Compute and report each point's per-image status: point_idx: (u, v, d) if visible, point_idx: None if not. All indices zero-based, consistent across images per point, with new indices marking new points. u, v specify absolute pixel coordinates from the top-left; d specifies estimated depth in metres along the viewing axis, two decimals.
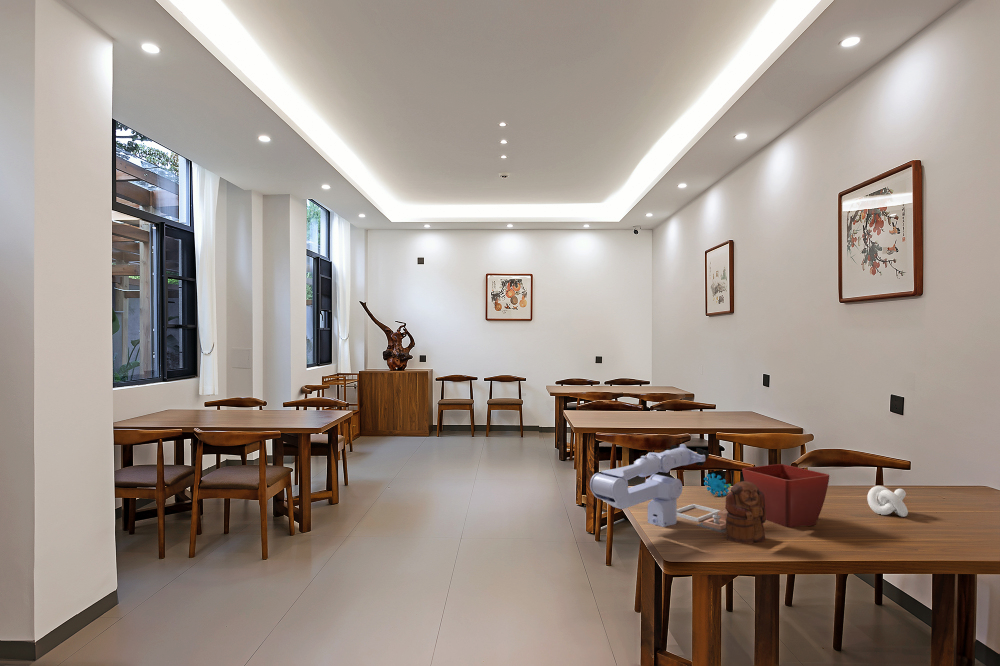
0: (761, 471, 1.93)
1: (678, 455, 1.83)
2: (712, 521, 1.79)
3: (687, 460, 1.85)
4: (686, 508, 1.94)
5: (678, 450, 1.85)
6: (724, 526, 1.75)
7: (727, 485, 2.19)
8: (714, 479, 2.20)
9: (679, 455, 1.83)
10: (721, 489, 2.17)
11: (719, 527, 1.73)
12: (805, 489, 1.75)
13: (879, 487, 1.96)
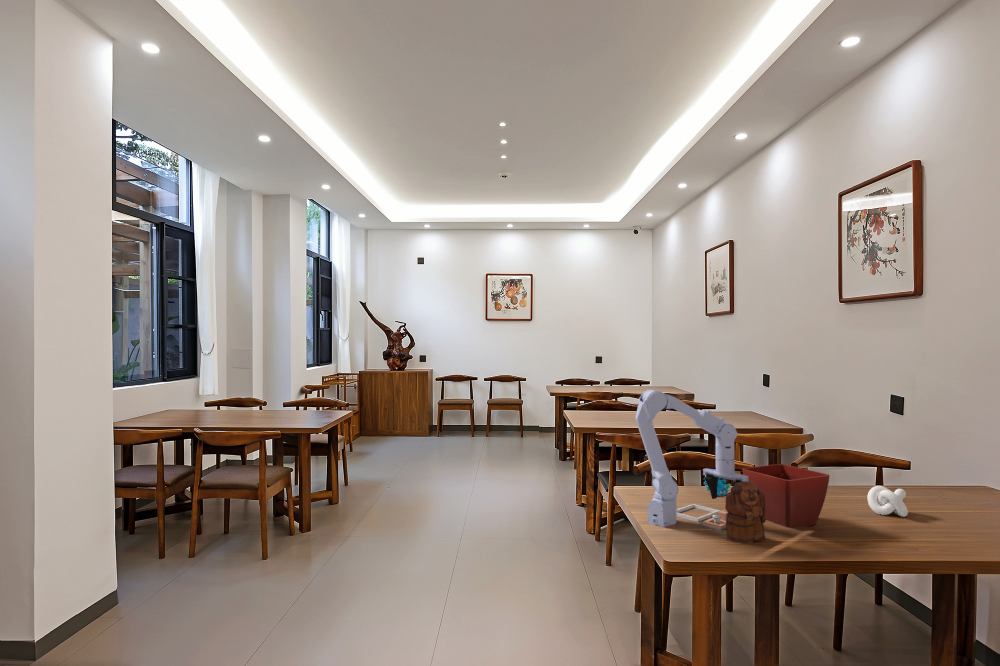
0: (761, 471, 1.93)
1: (732, 455, 1.79)
2: (712, 521, 1.79)
3: (731, 469, 1.79)
4: (686, 508, 1.94)
5: None
6: (724, 526, 1.75)
7: (727, 485, 2.19)
8: None
9: (732, 456, 1.79)
10: (721, 489, 2.17)
11: (719, 527, 1.73)
12: (805, 489, 1.75)
13: (879, 487, 1.96)
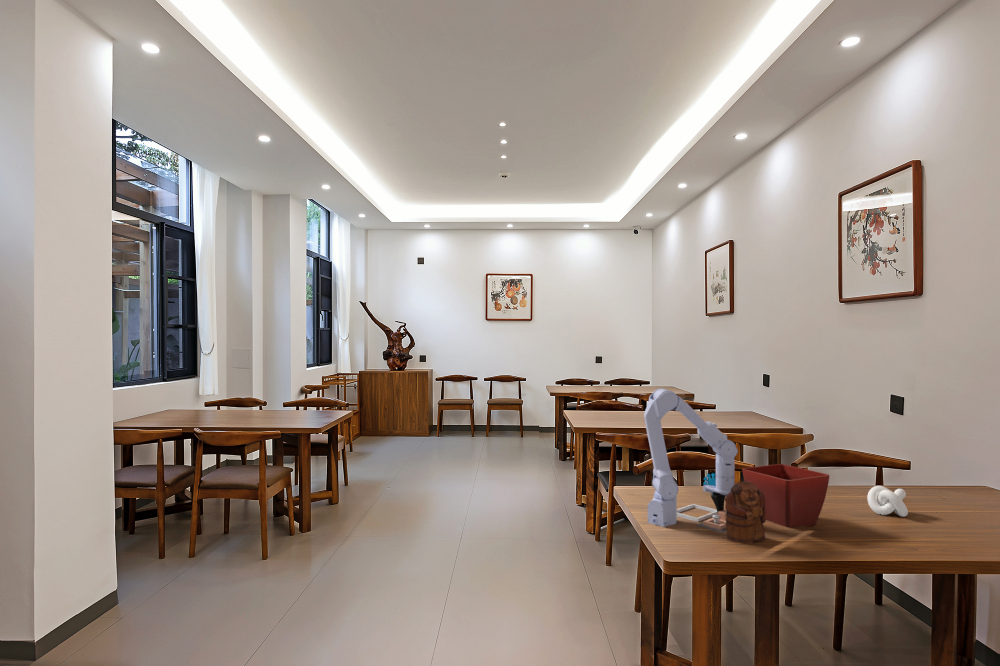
0: (761, 471, 1.93)
1: (732, 472, 1.79)
2: (712, 521, 1.79)
3: (731, 486, 1.78)
4: (686, 508, 1.94)
5: None
6: (724, 526, 1.75)
7: None
8: (714, 479, 2.20)
9: (732, 474, 1.79)
10: None
11: (719, 527, 1.73)
12: (805, 489, 1.75)
13: (879, 487, 1.96)
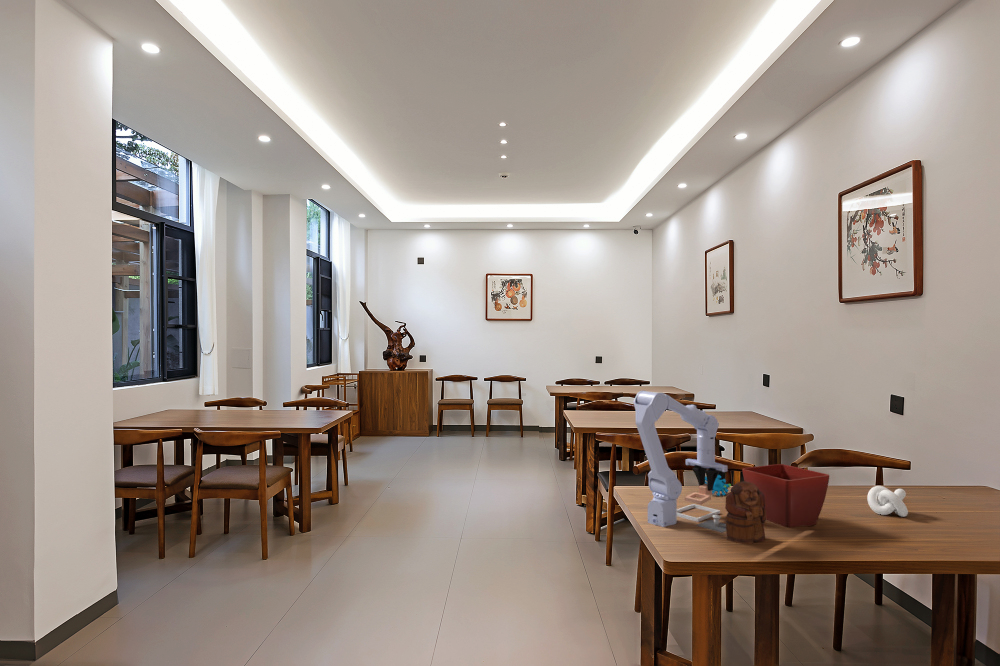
0: (761, 471, 1.93)
1: (714, 445, 1.88)
2: (694, 496, 1.88)
3: (711, 459, 1.87)
4: (686, 508, 1.94)
5: None
6: (704, 500, 1.83)
7: (727, 485, 2.19)
8: None
9: (714, 446, 1.88)
10: (720, 489, 2.17)
11: (699, 502, 1.82)
12: (805, 489, 1.75)
13: (879, 487, 1.96)
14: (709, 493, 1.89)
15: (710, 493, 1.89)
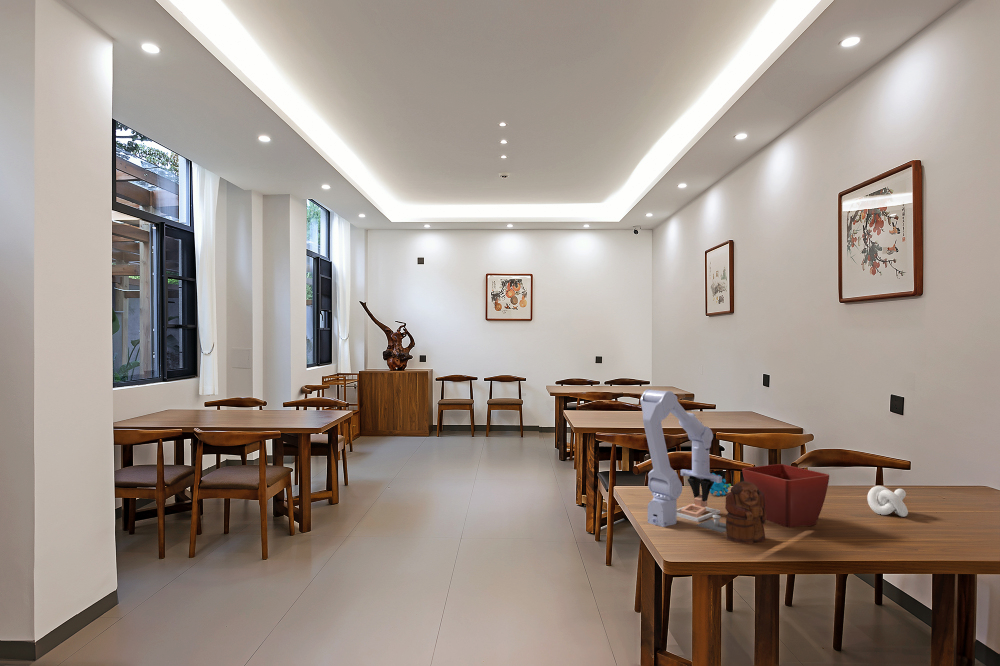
0: (761, 471, 1.93)
1: None
2: (689, 508, 1.91)
3: (706, 470, 1.90)
4: None
5: None
6: (700, 513, 1.86)
7: (727, 485, 2.19)
8: None
9: None
10: (720, 489, 2.17)
11: (695, 515, 1.85)
12: (805, 489, 1.75)
13: (879, 487, 1.96)
14: (704, 504, 1.91)
15: (705, 504, 1.92)
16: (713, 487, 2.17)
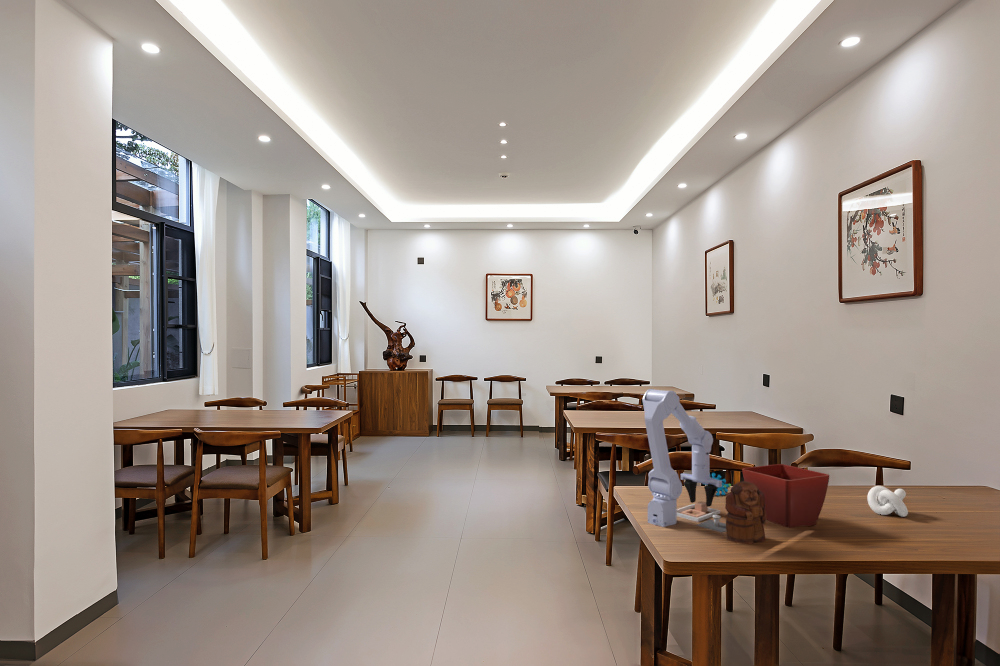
0: (761, 471, 1.93)
1: None
2: (689, 512, 1.91)
3: (706, 474, 1.90)
4: (686, 508, 1.94)
5: None
6: (700, 516, 1.86)
7: (727, 485, 2.19)
8: None
9: None
10: (720, 489, 2.17)
11: None
12: (805, 489, 1.75)
13: (879, 487, 1.96)
14: (704, 511, 1.91)
15: (705, 511, 1.92)
16: None
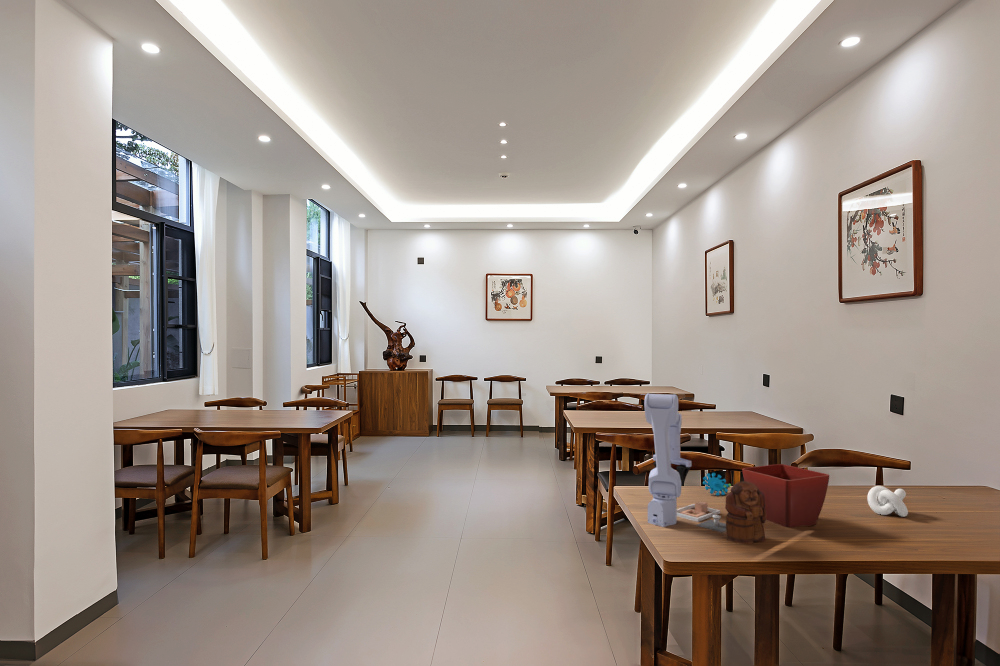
0: (761, 471, 1.93)
1: None
2: (689, 512, 1.91)
3: (676, 455, 1.94)
4: (686, 508, 1.94)
5: None
6: (700, 516, 1.86)
7: (727, 485, 2.19)
8: (714, 478, 2.21)
9: None
10: (720, 489, 2.17)
11: None
12: (805, 489, 1.75)
13: (879, 487, 1.96)
14: (704, 511, 1.91)
15: (705, 511, 1.92)
16: (713, 487, 2.18)
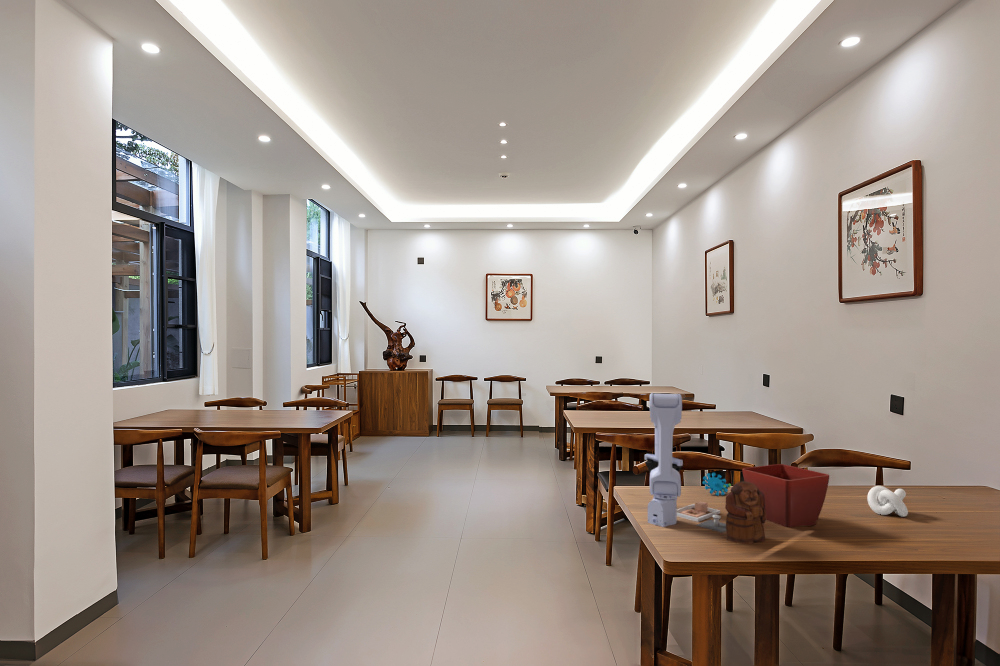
0: (761, 471, 1.93)
1: None
2: (689, 512, 1.91)
3: None
4: (686, 508, 1.94)
5: None
6: (700, 516, 1.86)
7: (727, 485, 2.19)
8: (714, 478, 2.21)
9: None
10: (720, 488, 2.18)
11: None
12: (805, 489, 1.75)
13: (879, 487, 1.96)
14: (704, 511, 1.91)
15: (705, 511, 1.92)
16: (712, 487, 2.18)
